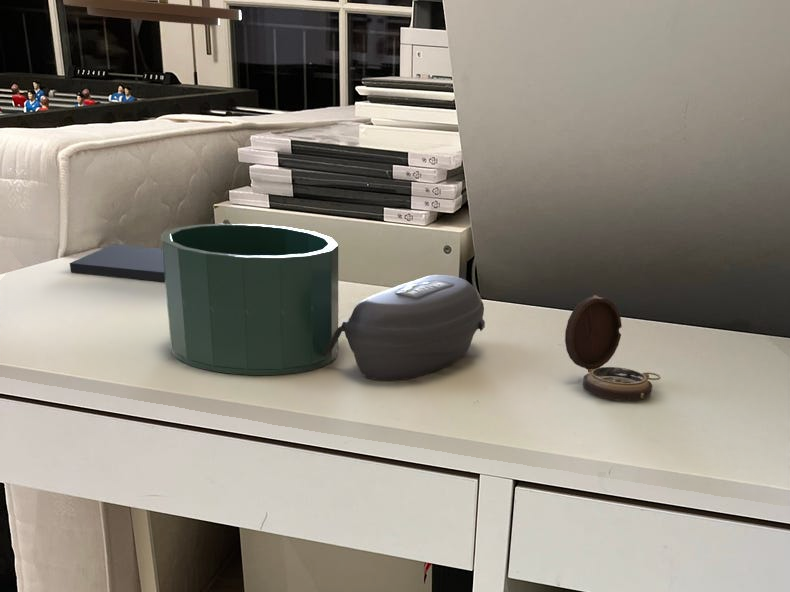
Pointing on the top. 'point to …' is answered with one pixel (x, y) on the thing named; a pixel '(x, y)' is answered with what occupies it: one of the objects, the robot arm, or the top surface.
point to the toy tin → (251, 297)
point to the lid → (157, 11)
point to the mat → (123, 263)
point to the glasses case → (413, 327)
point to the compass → (602, 351)
